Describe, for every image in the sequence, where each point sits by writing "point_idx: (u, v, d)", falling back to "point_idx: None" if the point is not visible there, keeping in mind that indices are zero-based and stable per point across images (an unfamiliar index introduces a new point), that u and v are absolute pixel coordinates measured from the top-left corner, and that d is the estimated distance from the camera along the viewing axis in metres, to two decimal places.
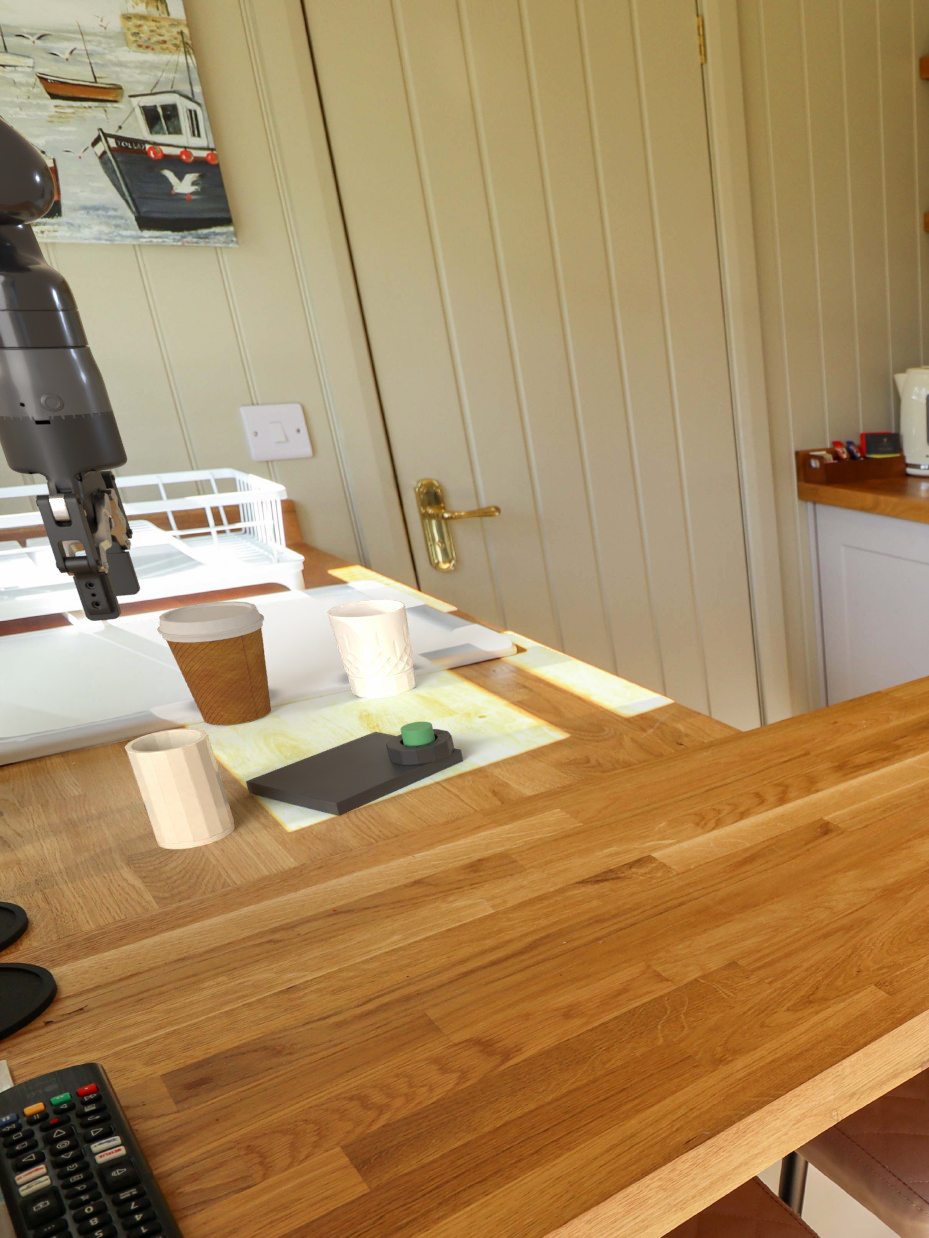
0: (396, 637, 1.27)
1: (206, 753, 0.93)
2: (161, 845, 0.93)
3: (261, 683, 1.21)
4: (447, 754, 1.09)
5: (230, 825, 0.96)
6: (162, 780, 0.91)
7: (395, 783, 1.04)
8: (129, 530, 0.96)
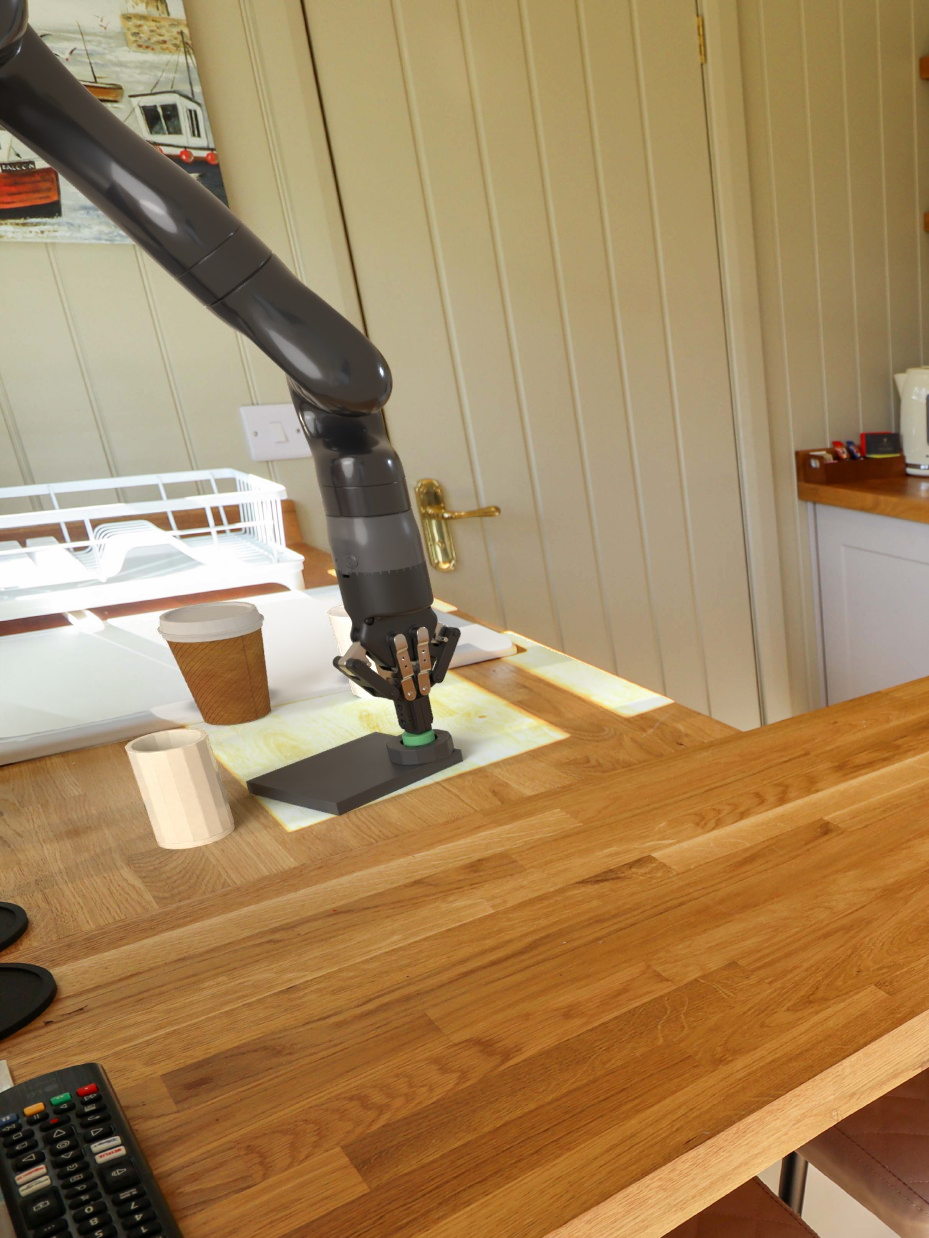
0: None
1: (206, 753, 0.93)
2: (161, 845, 0.93)
3: (261, 683, 1.21)
4: (447, 754, 1.09)
5: (230, 825, 0.96)
6: (162, 780, 0.91)
7: (395, 783, 1.04)
8: (438, 675, 1.08)
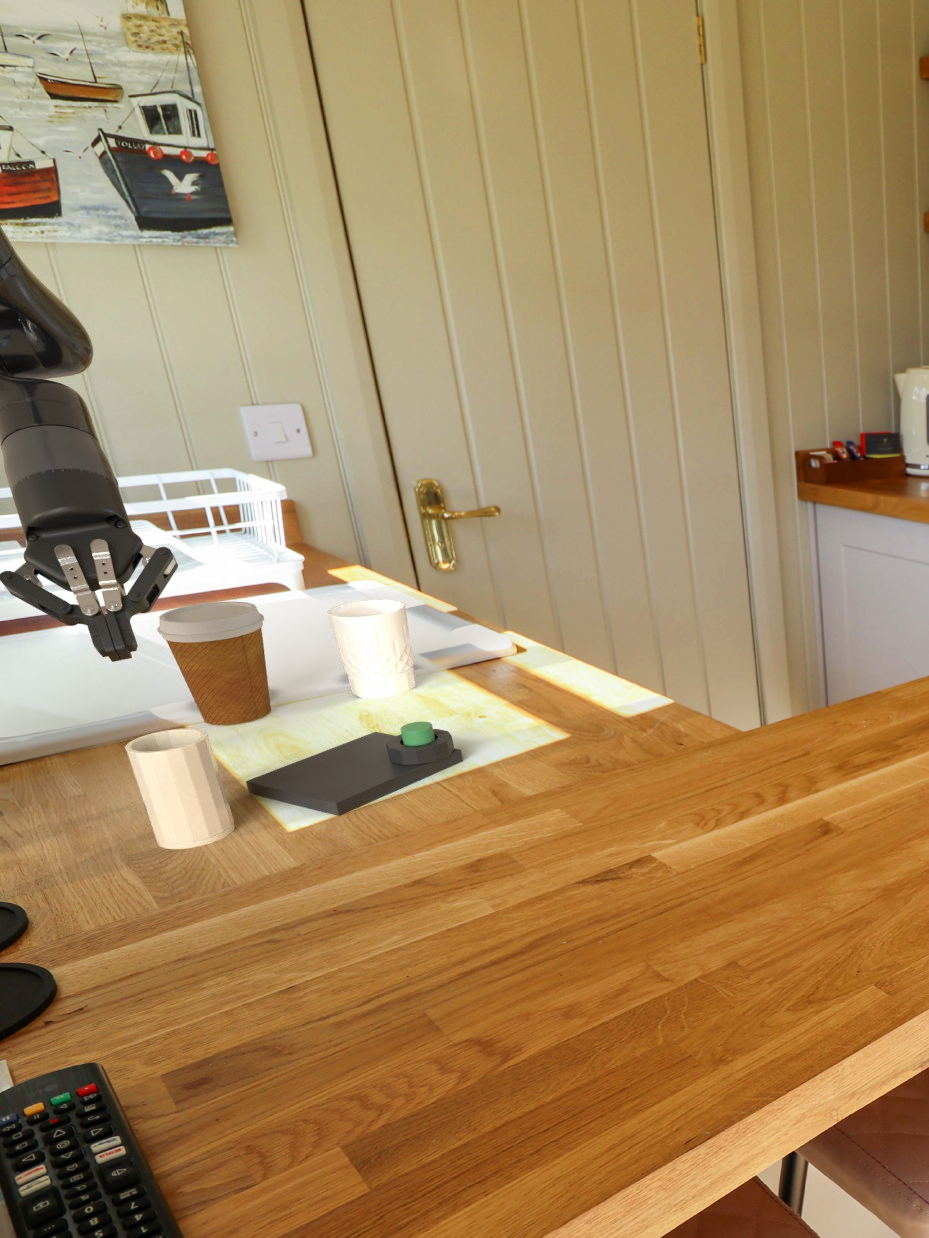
0: (396, 637, 1.27)
1: (206, 753, 0.93)
2: (161, 845, 0.93)
3: (261, 683, 1.21)
4: (447, 754, 1.09)
5: (230, 825, 0.96)
6: (162, 780, 0.91)
7: (395, 783, 1.04)
8: None
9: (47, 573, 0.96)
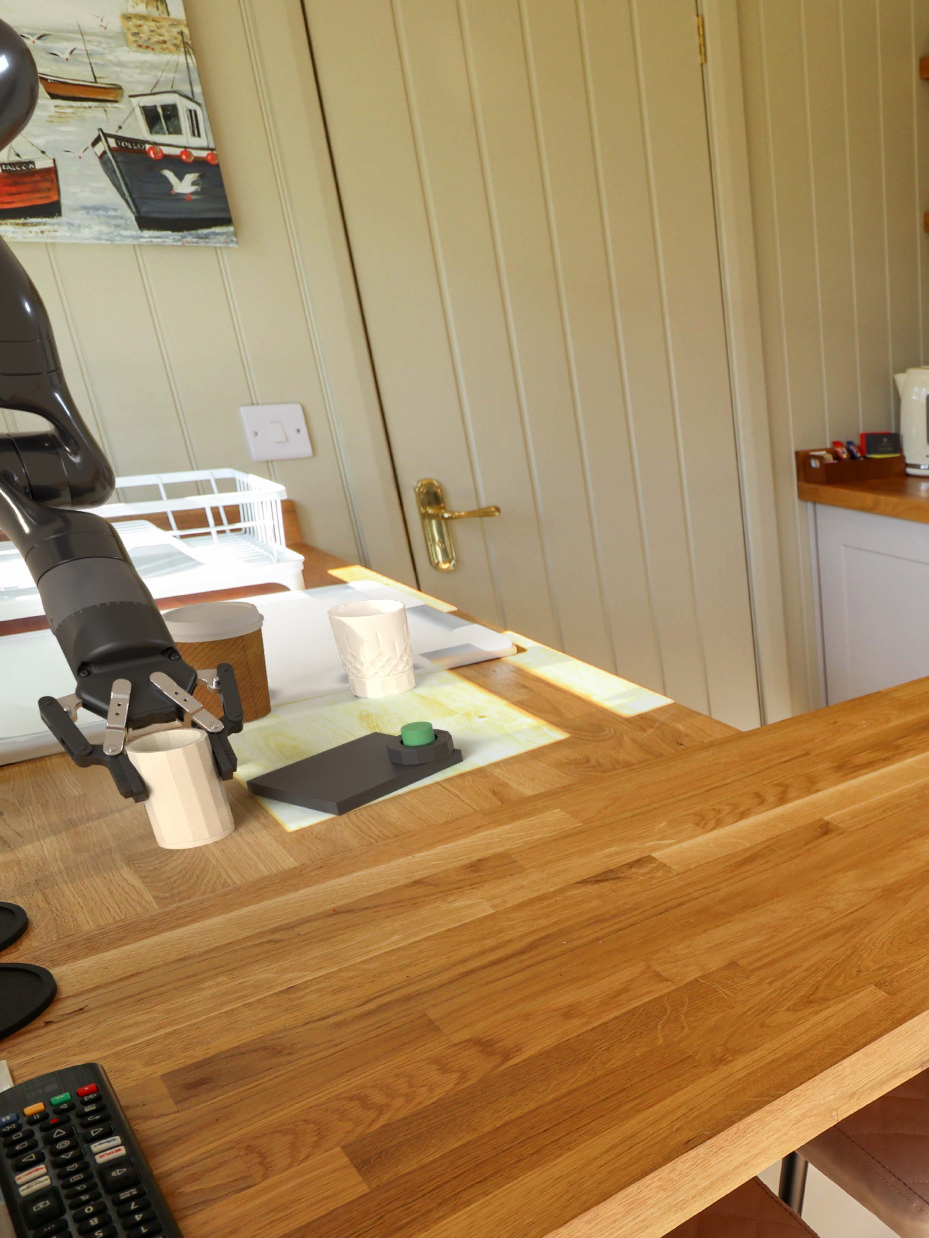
0: (396, 637, 1.27)
1: (206, 753, 0.93)
2: (161, 845, 0.93)
3: (261, 683, 1.21)
4: (447, 754, 1.09)
5: (230, 825, 0.96)
6: (162, 780, 0.91)
7: (395, 783, 1.04)
8: None
9: (104, 709, 0.91)
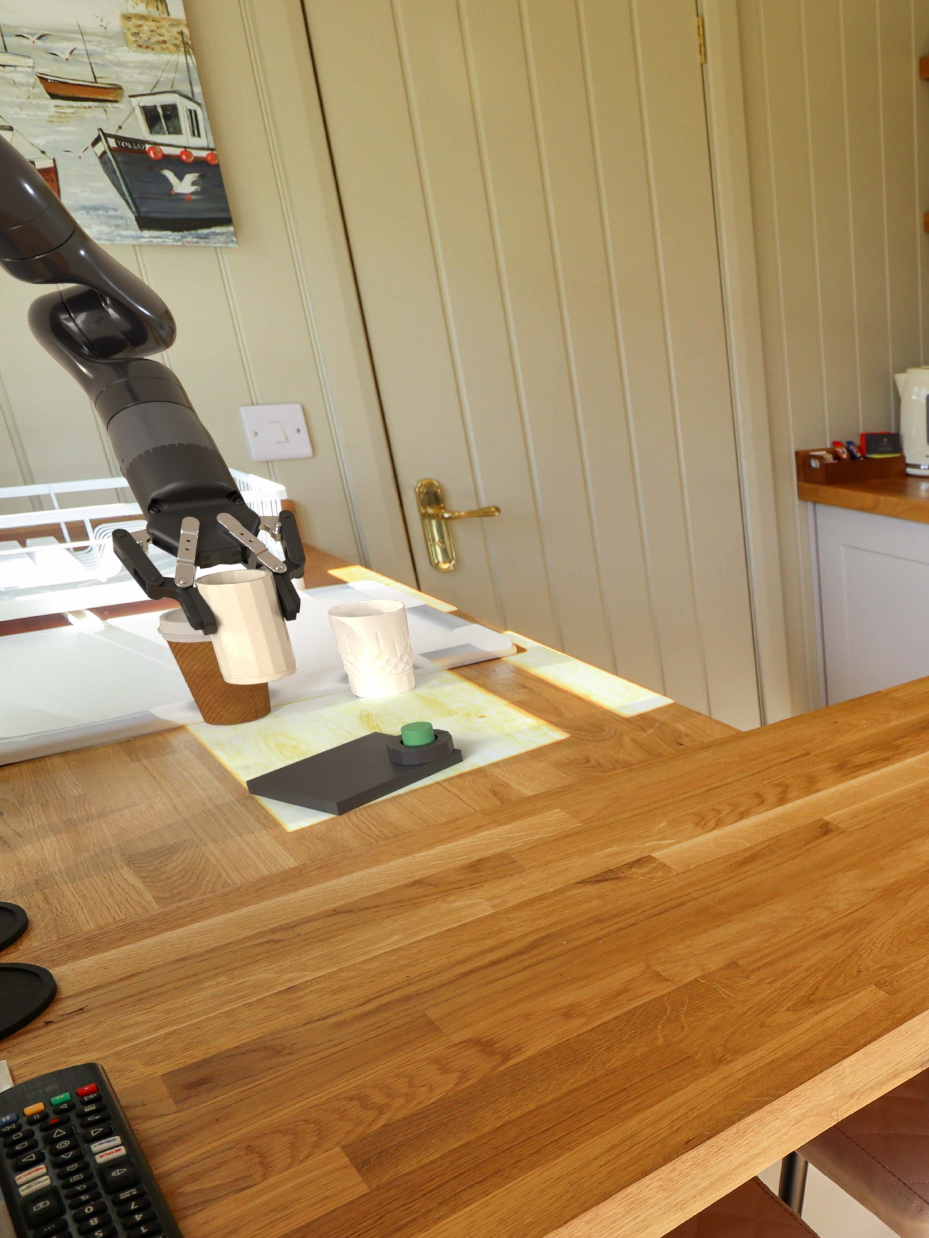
0: (396, 637, 1.27)
1: (271, 590, 0.96)
2: (228, 680, 0.96)
3: (261, 683, 1.21)
4: (447, 754, 1.09)
5: (293, 665, 0.99)
6: (230, 613, 0.94)
7: (395, 783, 1.04)
8: None
9: (174, 545, 0.94)
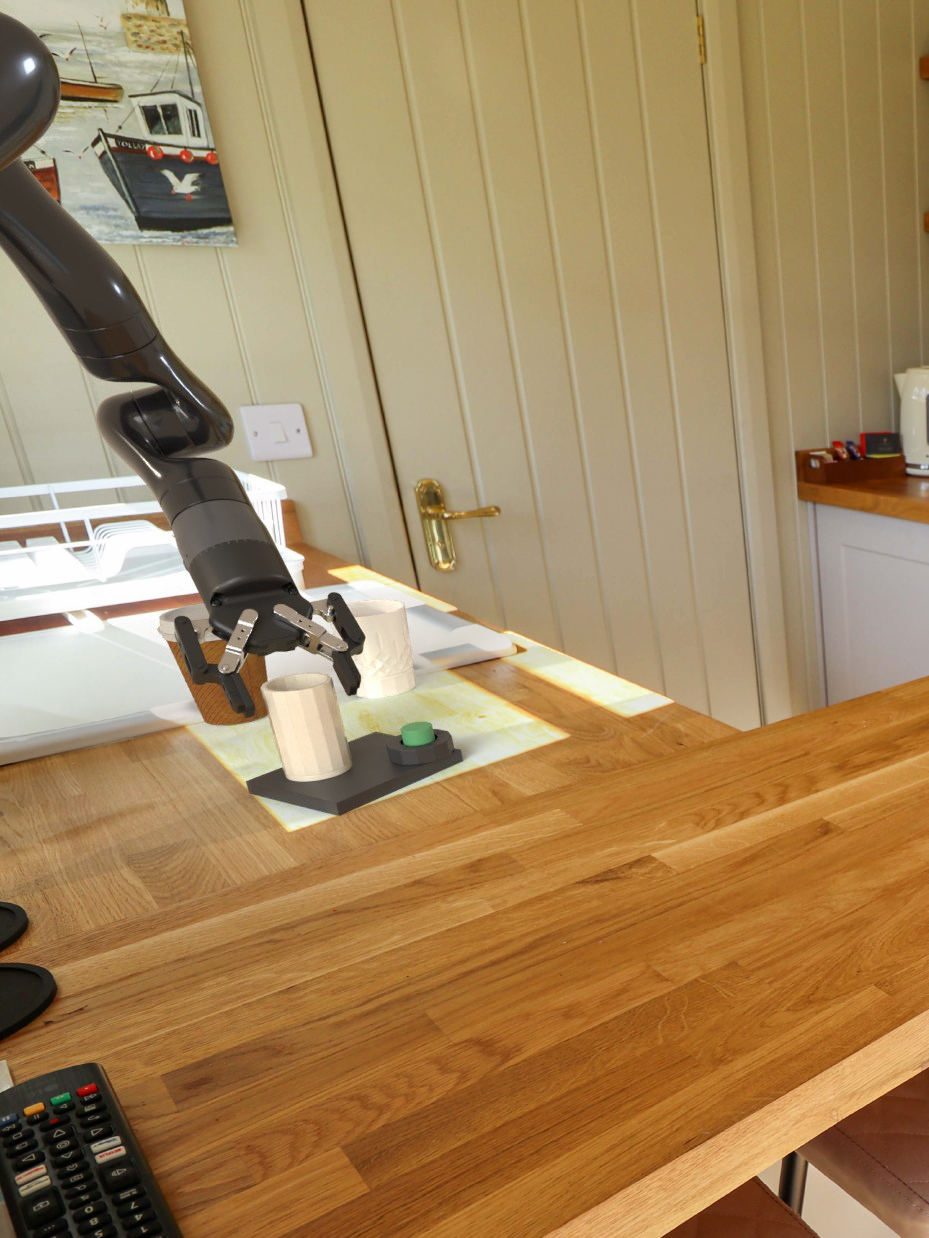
0: (396, 637, 1.27)
1: (331, 694, 1.03)
2: (290, 778, 1.03)
3: (261, 683, 1.21)
4: (447, 754, 1.09)
5: (349, 761, 1.06)
6: (294, 717, 1.00)
7: (395, 783, 1.04)
8: None
9: None
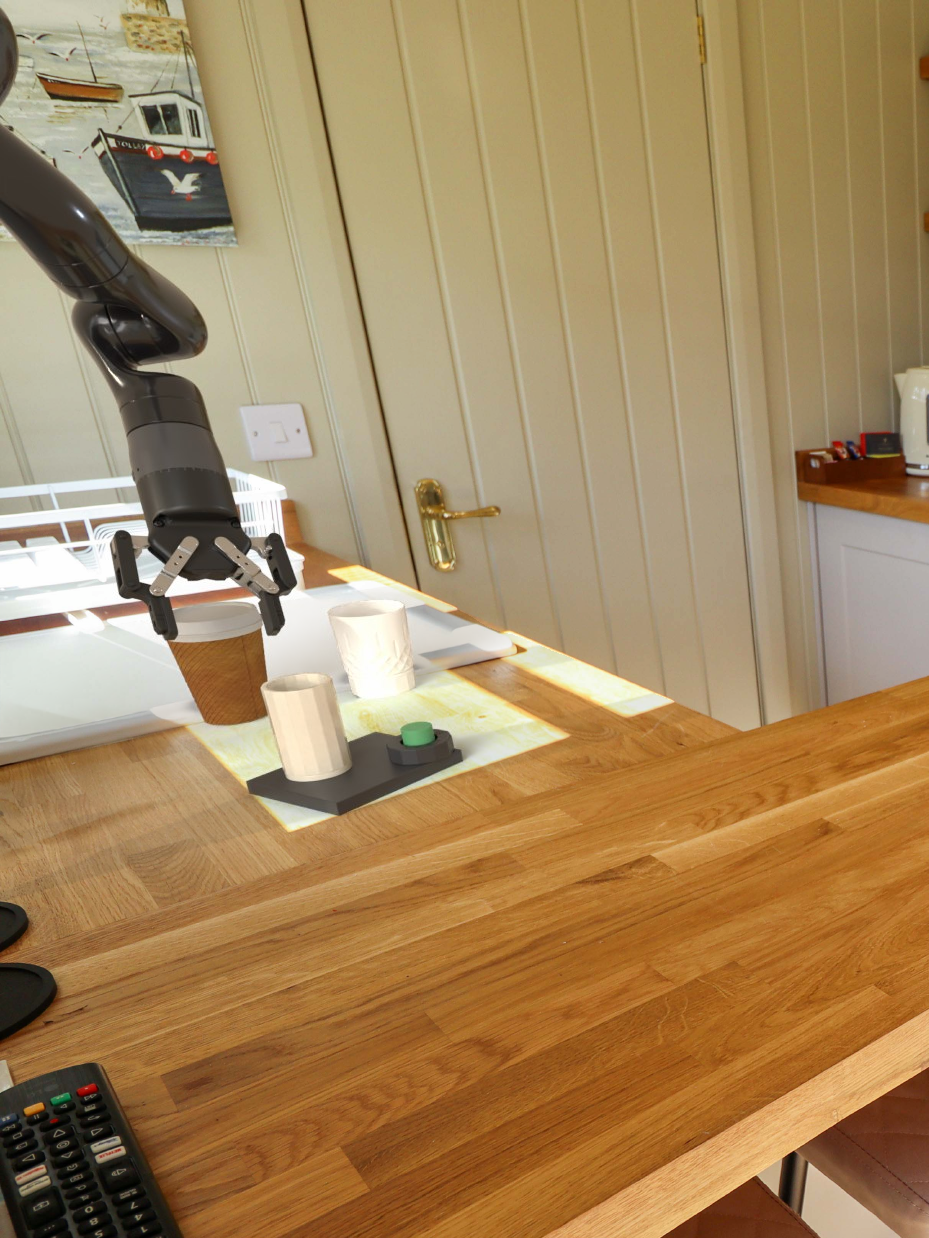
0: (396, 637, 1.27)
1: (331, 694, 1.03)
2: (290, 778, 1.03)
3: (261, 683, 1.21)
4: (447, 754, 1.09)
5: (349, 761, 1.06)
6: (294, 717, 1.00)
7: (395, 783, 1.04)
8: None
9: None
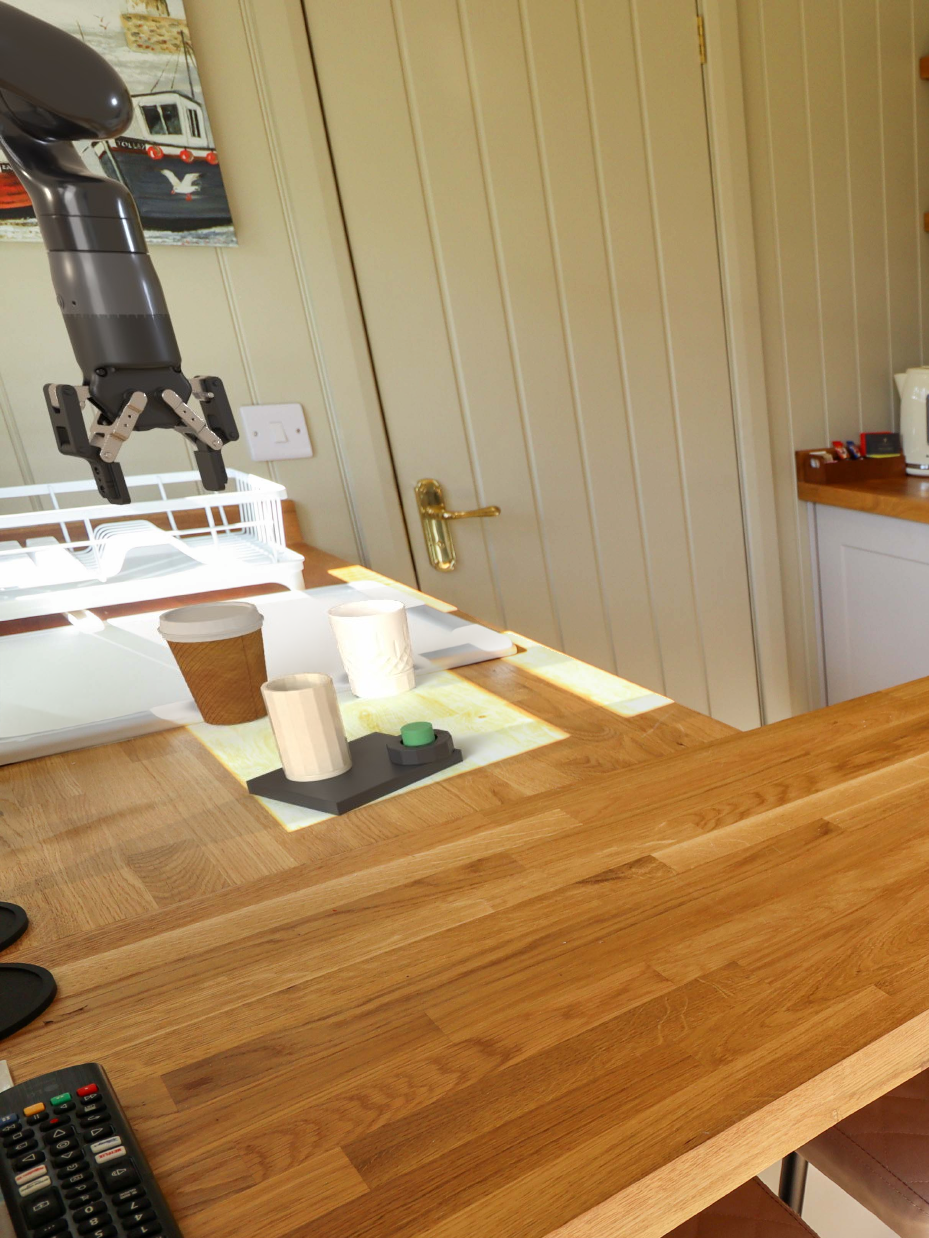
0: (396, 637, 1.27)
1: (331, 694, 1.03)
2: (290, 778, 1.03)
3: (261, 683, 1.21)
4: (447, 754, 1.09)
5: (349, 761, 1.06)
6: (294, 717, 1.00)
7: (395, 783, 1.04)
8: None
9: (116, 415, 0.96)
